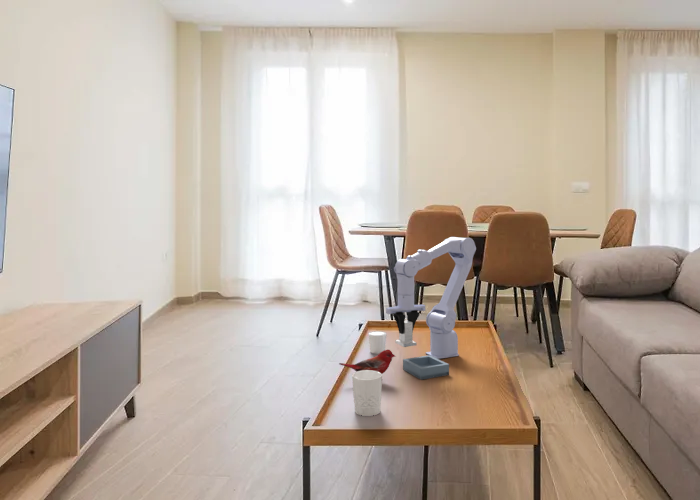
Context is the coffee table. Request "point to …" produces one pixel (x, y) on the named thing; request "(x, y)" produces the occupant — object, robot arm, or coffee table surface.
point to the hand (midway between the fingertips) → (405, 332)
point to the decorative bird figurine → (374, 363)
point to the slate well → (425, 367)
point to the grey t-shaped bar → (406, 335)
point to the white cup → (367, 392)
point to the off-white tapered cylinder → (377, 341)
